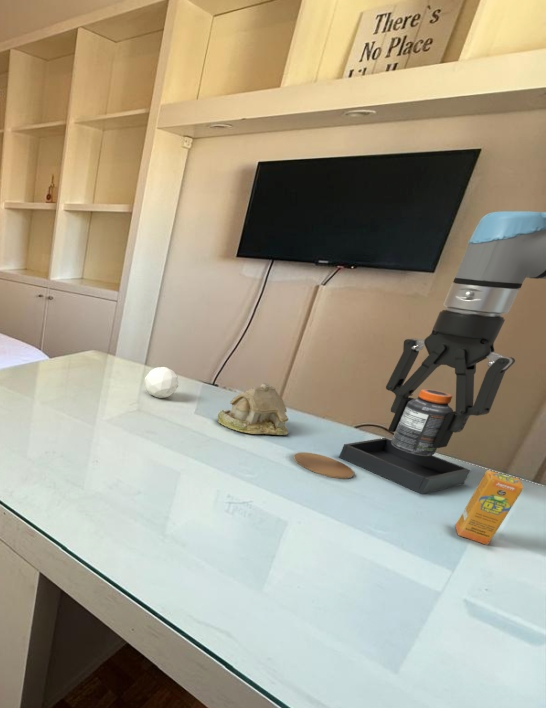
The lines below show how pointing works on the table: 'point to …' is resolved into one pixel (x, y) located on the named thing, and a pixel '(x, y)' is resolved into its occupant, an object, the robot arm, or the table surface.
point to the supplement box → (488, 507)
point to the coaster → (323, 465)
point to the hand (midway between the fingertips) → (416, 438)
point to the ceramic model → (256, 412)
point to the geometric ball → (161, 382)
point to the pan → (404, 466)
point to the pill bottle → (422, 422)
